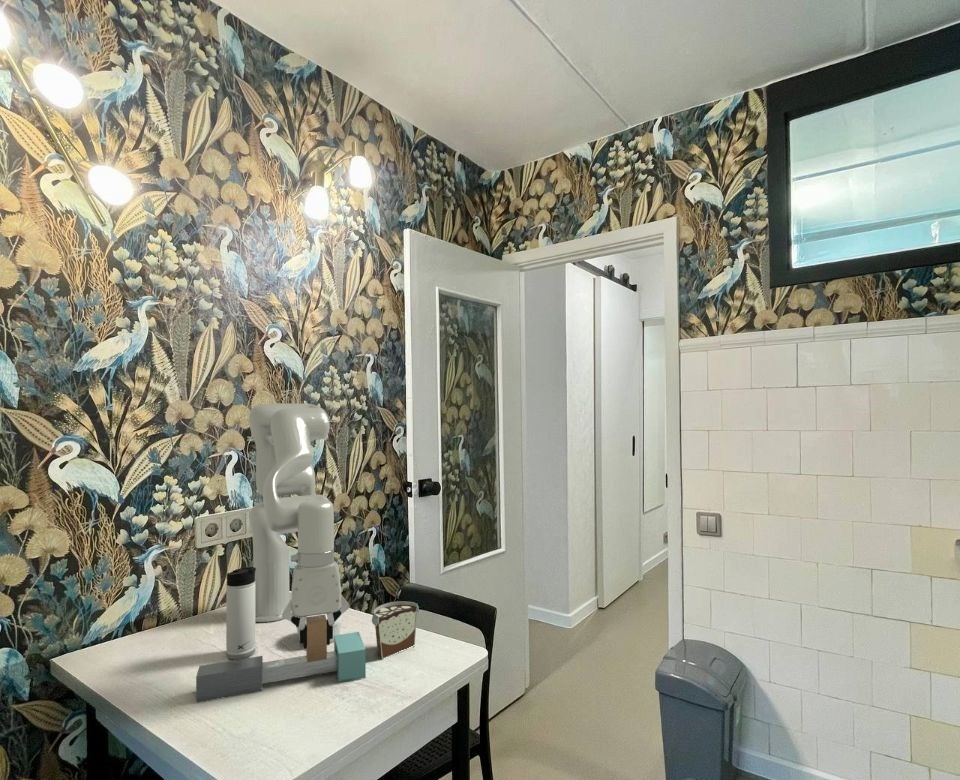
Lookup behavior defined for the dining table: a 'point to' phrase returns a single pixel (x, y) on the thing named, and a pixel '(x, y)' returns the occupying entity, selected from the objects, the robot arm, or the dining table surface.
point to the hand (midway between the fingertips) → (316, 643)
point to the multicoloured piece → (309, 664)
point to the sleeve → (229, 678)
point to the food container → (395, 627)
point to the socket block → (350, 657)
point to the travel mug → (240, 613)
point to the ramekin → (335, 627)
